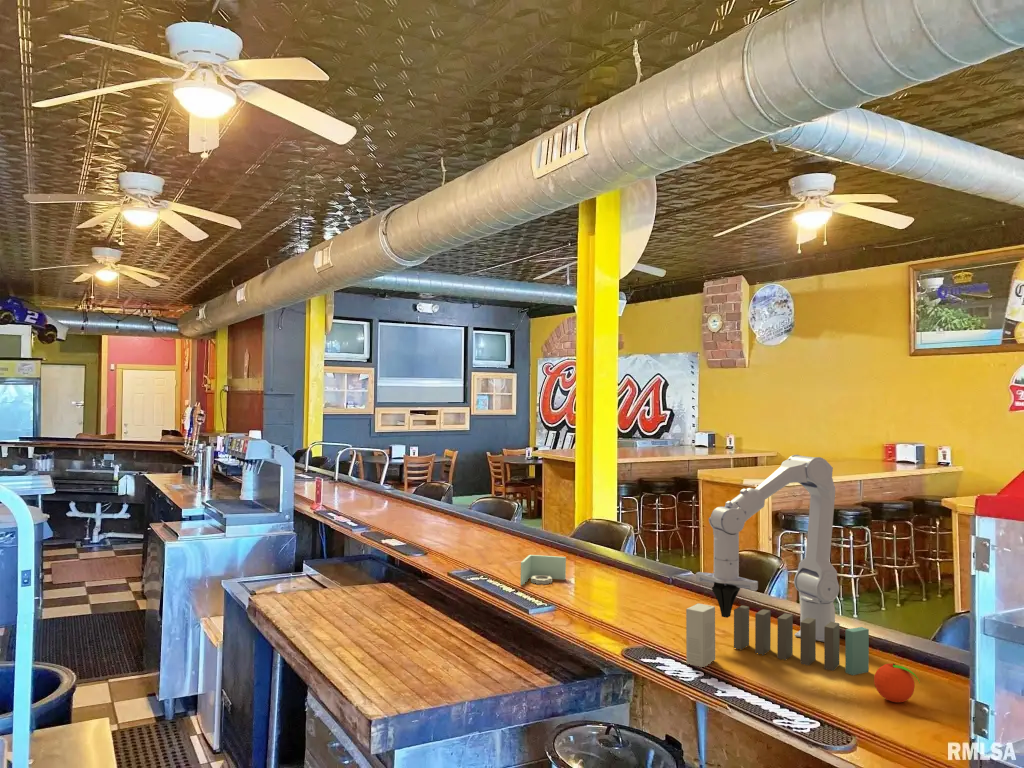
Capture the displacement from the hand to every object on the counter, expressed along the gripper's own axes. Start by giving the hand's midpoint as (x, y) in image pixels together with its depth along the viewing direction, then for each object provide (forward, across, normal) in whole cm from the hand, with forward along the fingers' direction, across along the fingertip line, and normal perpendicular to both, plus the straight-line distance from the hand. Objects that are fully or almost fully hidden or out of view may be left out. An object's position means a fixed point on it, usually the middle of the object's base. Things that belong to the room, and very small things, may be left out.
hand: (726, 616), depth 175 cm
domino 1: (+6, +4, 0) cm, 7 cm away
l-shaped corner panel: (+7, -68, +21) cm, 72 cm away
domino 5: (+6, +24, 0) cm, 25 cm away
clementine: (+7, +39, -12) cm, 41 cm away
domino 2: (+6, +9, 0) cm, 11 cm away
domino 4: (+6, +19, 0) cm, 20 cm away
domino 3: (+6, +14, 0) cm, 15 cm away
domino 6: (+6, +29, 0) cm, 30 cm away
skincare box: (+7, +1, -16) cm, 17 cm away
